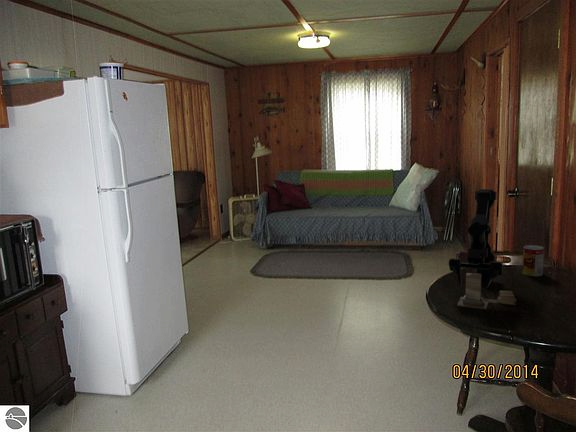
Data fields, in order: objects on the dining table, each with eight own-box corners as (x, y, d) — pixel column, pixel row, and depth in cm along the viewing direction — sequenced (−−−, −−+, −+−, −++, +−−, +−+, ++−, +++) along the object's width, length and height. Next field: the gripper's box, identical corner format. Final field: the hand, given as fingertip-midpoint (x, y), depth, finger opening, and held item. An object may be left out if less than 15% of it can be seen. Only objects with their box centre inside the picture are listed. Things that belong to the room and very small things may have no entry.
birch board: (466, 300, 176) (467, 272, 174) (480, 302, 174) (481, 273, 172) (465, 303, 174) (465, 275, 172) (479, 304, 172) (480, 276, 170)
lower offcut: (499, 297, 178) (499, 293, 178) (514, 298, 175) (514, 295, 175) (498, 302, 173) (498, 298, 172) (513, 304, 170) (513, 300, 170)
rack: (462, 294, 185) (462, 288, 184) (516, 300, 176) (516, 294, 175) (456, 307, 172) (457, 301, 172) (514, 314, 163) (514, 307, 163)
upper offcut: (499, 294, 177) (499, 290, 177) (512, 294, 176) (512, 291, 175) (500, 299, 172) (501, 295, 172) (514, 299, 171) (514, 295, 170)
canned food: (529, 269, 211) (530, 244, 208) (546, 273, 204) (547, 247, 202) (518, 273, 207) (519, 247, 204) (536, 277, 200) (537, 250, 198)
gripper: (449, 237, 178) (444, 273, 171) (503, 241, 169) (500, 279, 162) (452, 252, 186) (447, 287, 179) (503, 256, 178) (501, 293, 170)
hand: (473, 286), depth 172 cm, fingers open, 9 cm apart
